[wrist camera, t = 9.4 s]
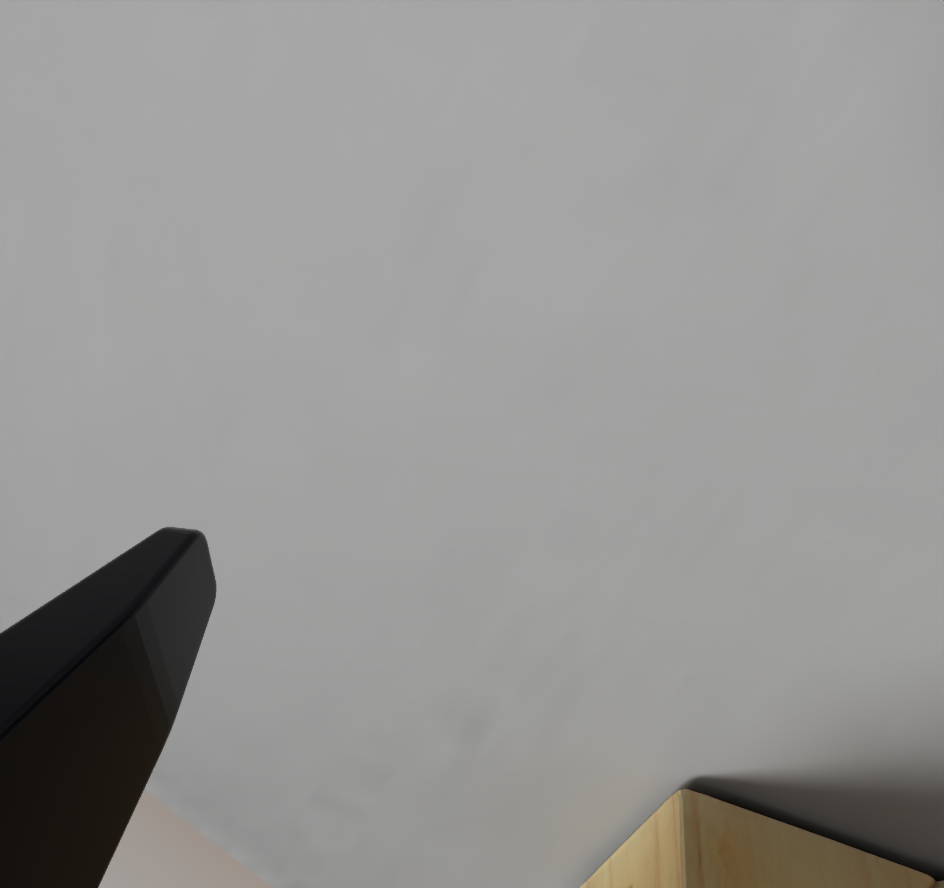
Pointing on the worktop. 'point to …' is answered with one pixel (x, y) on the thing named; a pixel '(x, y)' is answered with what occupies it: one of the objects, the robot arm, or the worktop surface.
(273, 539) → the worktop surface
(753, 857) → the knife block
